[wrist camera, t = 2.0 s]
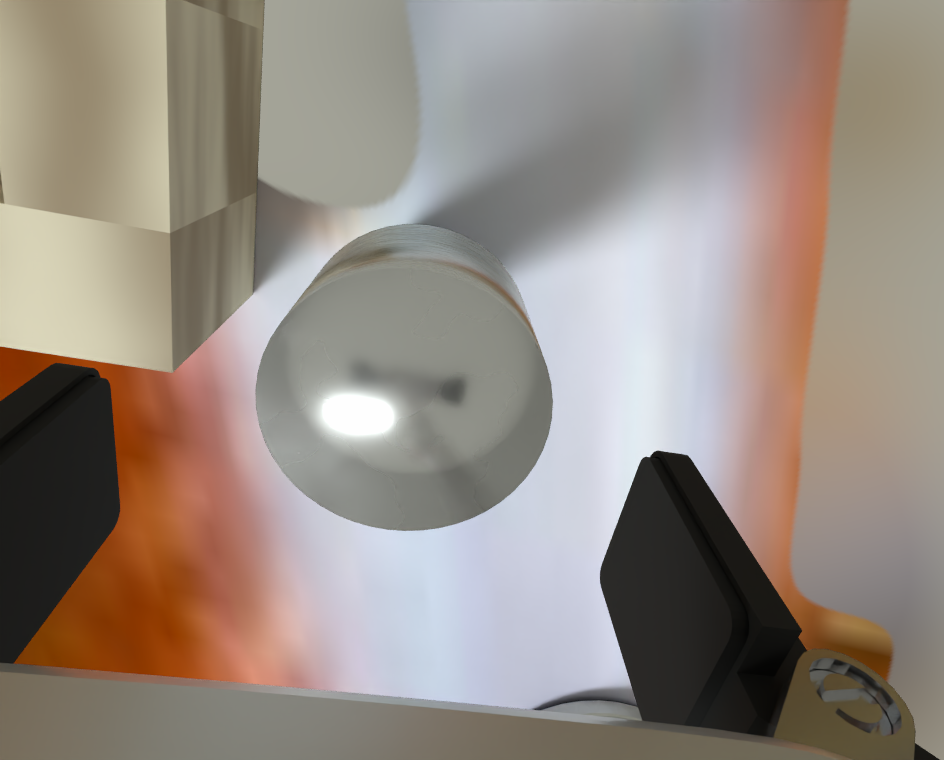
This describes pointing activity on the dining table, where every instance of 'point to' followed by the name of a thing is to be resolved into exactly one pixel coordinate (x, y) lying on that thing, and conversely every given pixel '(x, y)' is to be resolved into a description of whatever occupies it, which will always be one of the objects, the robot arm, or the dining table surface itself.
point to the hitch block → (127, 174)
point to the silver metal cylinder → (406, 382)
